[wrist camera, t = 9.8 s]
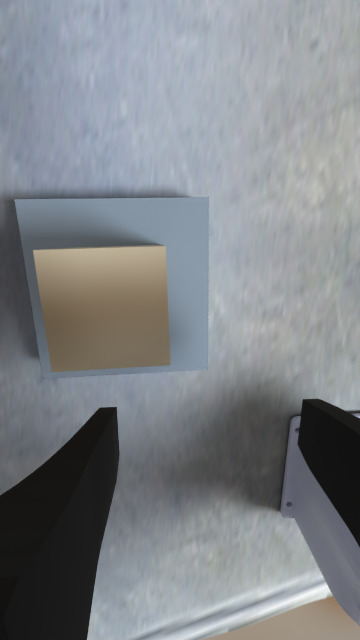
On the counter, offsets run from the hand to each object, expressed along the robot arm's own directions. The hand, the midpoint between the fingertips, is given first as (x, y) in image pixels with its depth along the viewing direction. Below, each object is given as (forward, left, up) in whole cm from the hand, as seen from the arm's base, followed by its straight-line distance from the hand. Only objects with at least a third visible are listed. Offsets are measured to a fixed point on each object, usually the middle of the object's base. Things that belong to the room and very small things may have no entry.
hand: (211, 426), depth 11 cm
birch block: (+4, +4, -7) cm, 9 cm away
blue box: (+4, +4, -10) cm, 11 cm away
